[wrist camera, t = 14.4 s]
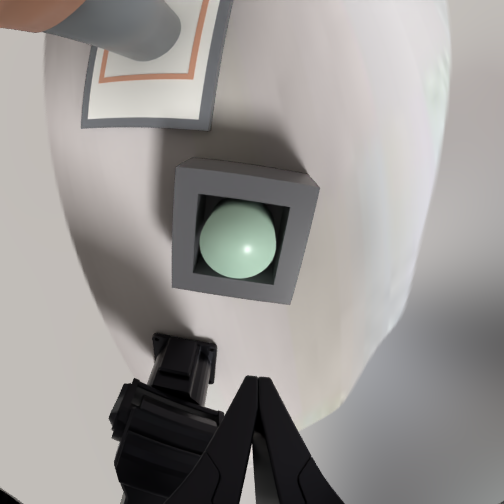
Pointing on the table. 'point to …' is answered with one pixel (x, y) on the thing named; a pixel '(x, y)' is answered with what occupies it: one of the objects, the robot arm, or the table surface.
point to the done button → (238, 238)
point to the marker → (99, 23)
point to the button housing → (246, 188)
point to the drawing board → (161, 76)
